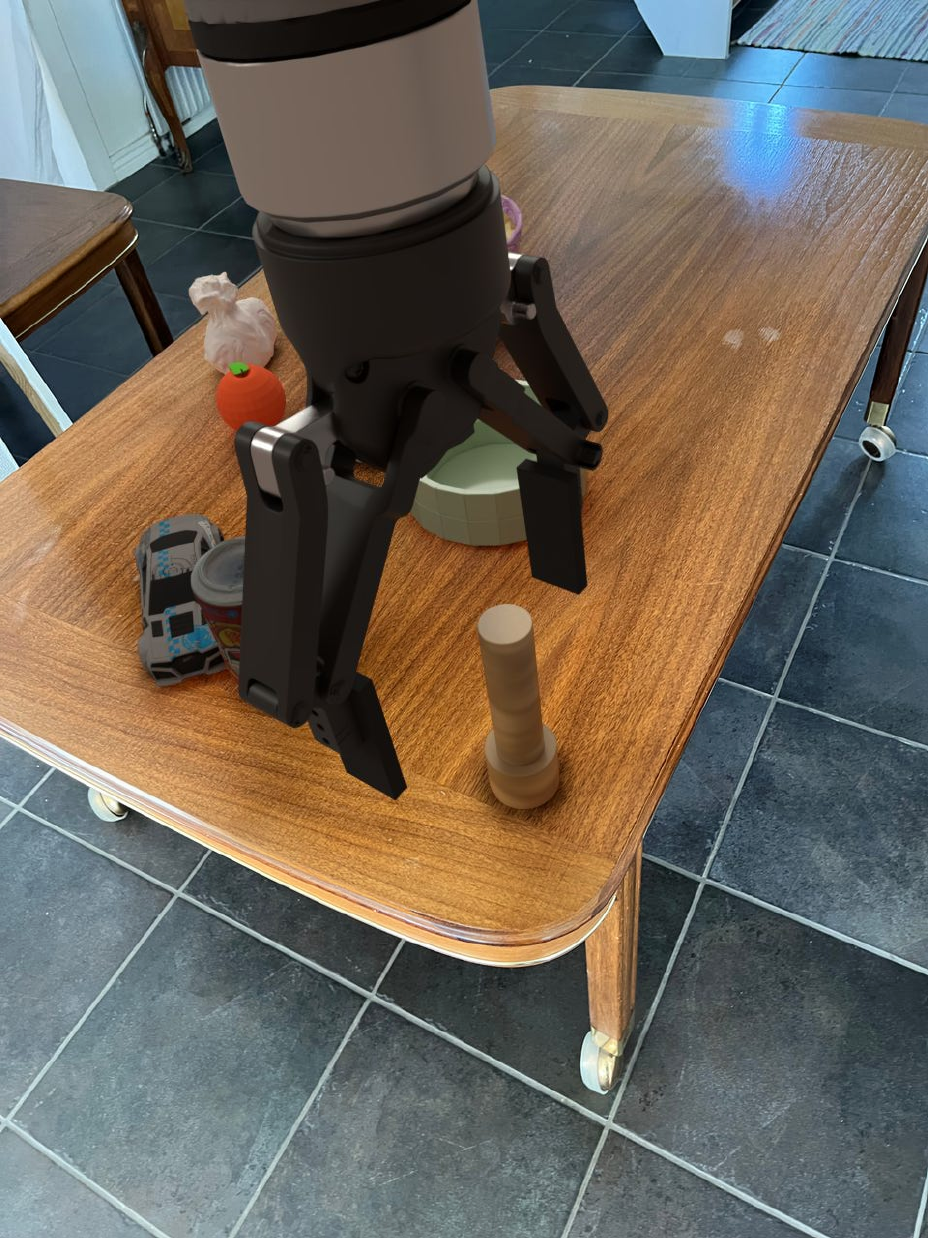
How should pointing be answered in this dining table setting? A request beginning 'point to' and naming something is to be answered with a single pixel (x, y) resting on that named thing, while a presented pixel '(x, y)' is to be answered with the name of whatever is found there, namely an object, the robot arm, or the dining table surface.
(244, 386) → the clementine
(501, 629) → the muddler
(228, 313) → the bust
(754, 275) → the dining table surface
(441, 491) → the bowl
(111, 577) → the dining table surface
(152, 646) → the toy car
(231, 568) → the soda can
